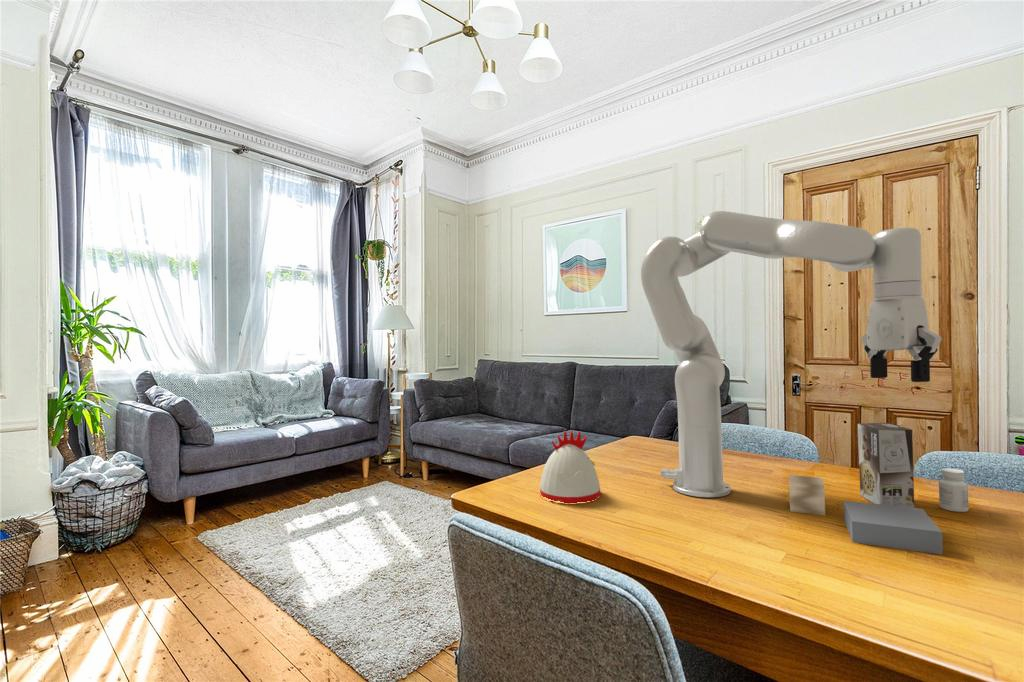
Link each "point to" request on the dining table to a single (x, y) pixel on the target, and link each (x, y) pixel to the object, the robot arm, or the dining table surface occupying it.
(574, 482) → the white red dome
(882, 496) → the coffee box
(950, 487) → the pill bottle
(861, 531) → the charcoal block
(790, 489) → the oak cube
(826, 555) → the dining table surface
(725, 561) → the dining table surface
